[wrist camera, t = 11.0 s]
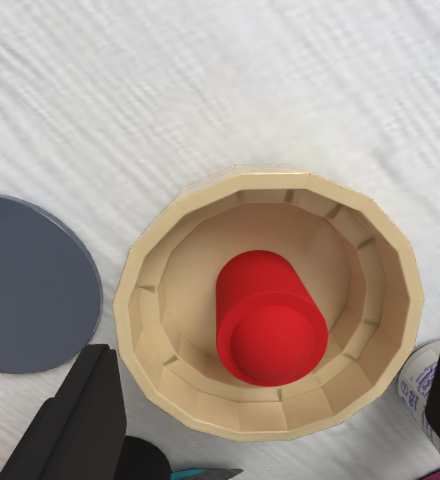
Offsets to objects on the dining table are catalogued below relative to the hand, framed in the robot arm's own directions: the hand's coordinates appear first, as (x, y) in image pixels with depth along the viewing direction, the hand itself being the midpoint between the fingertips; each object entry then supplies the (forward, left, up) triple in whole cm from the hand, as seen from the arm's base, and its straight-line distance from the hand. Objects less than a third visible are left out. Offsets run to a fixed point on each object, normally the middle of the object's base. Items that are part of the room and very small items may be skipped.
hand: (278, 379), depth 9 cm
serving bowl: (+1, 0, -7) cm, 7 cm away
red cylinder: (+1, 0, -7) cm, 7 cm away
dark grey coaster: (+1, -13, -7) cm, 15 cm away
